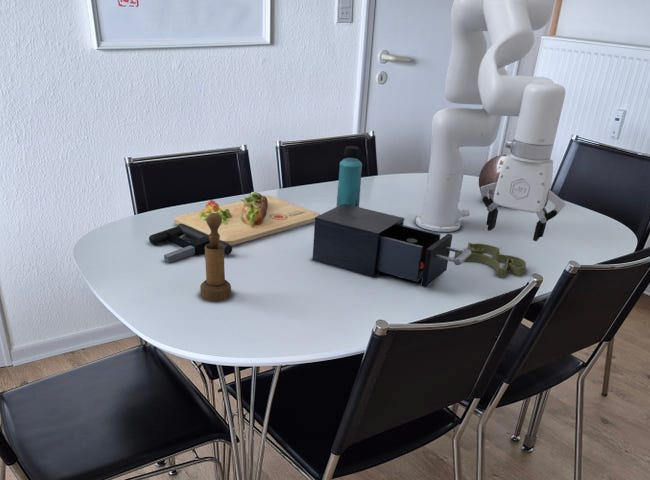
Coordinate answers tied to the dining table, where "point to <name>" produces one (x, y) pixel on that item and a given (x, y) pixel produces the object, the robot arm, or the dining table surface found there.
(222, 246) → the mortar and pestle
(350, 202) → the beverage bottle
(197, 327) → the dining table surface
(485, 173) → the wooden sphere
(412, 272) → the drawer
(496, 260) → the cookie cutter
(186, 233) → the toy gun
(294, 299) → the dining table surface
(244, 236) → the cutting board
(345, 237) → the dark grey metal box
